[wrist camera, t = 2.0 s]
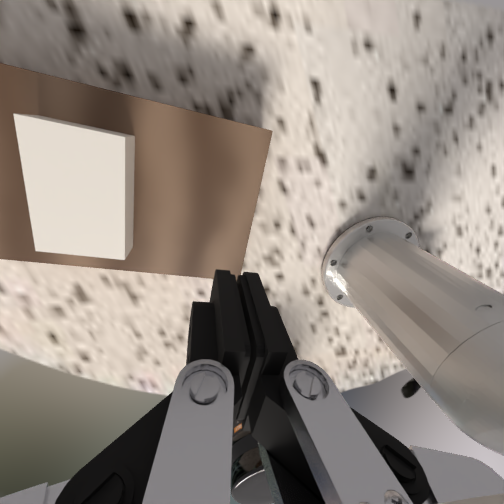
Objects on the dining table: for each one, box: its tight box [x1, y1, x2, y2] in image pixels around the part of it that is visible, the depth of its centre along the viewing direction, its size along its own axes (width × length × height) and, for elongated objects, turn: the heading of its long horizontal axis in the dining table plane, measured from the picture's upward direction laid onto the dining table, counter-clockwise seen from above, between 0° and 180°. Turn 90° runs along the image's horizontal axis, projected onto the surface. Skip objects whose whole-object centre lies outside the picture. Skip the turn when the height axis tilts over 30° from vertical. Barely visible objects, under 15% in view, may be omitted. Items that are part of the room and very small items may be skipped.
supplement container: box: [231, 420, 274, 504], centre depth 34 cm, size 10×10×12 cm
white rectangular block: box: [13, 114, 135, 260], centre depth 18 cm, size 6×9×2 cm, turn 167°
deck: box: [0, 63, 273, 281], centre depth 21 cm, size 22×14×4 cm, turn 77°
